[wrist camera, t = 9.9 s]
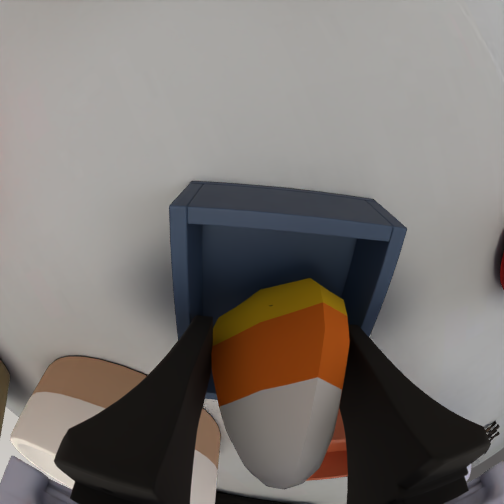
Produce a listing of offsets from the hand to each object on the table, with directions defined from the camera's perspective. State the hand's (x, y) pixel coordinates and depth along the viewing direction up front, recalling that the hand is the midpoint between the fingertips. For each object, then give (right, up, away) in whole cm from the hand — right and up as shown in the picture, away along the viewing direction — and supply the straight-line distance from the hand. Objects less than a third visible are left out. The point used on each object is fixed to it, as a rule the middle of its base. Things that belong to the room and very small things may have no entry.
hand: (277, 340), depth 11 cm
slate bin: (0, +2, +3) cm, 4 cm away
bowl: (-12, -12, +10) cm, 20 cm away
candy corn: (0, +1, +2) cm, 2 cm away
